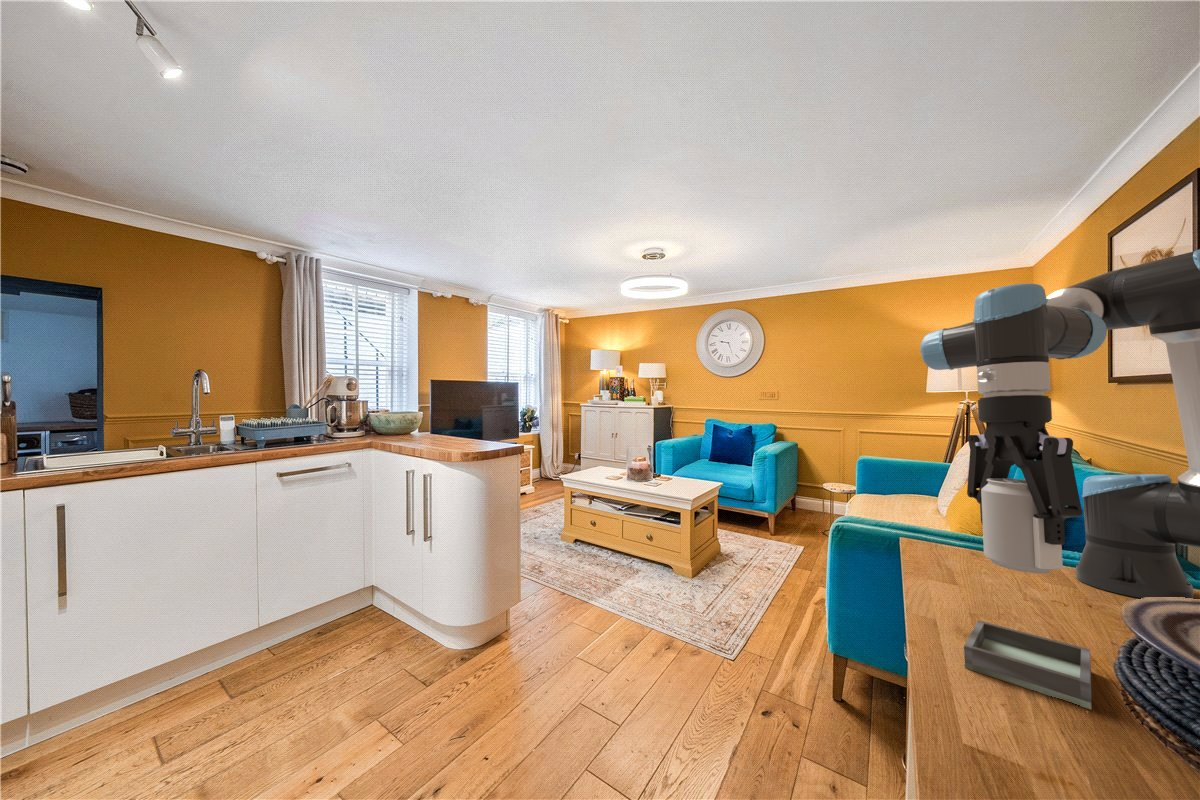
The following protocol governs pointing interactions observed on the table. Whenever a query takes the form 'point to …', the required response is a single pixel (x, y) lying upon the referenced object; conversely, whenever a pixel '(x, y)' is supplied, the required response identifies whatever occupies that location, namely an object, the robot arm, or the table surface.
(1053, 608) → the table surface
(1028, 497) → the can
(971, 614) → the table surface
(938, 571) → the table surface
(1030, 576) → the table surface
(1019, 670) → the tray
